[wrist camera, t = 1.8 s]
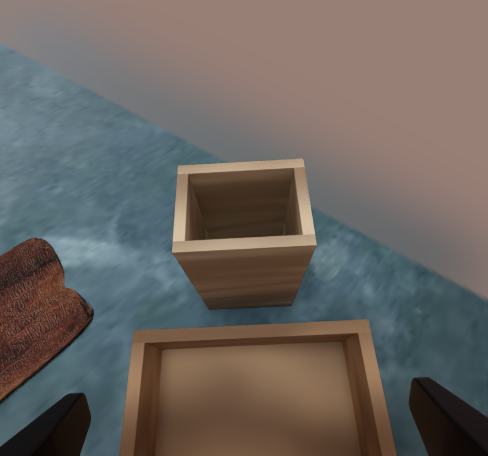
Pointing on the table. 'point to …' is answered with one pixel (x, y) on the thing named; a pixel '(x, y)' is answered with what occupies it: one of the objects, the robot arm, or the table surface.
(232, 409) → the oak crate
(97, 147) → the table surface
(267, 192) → the birch crate
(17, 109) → the table surface
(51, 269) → the wooden tablet
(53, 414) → the robot arm
